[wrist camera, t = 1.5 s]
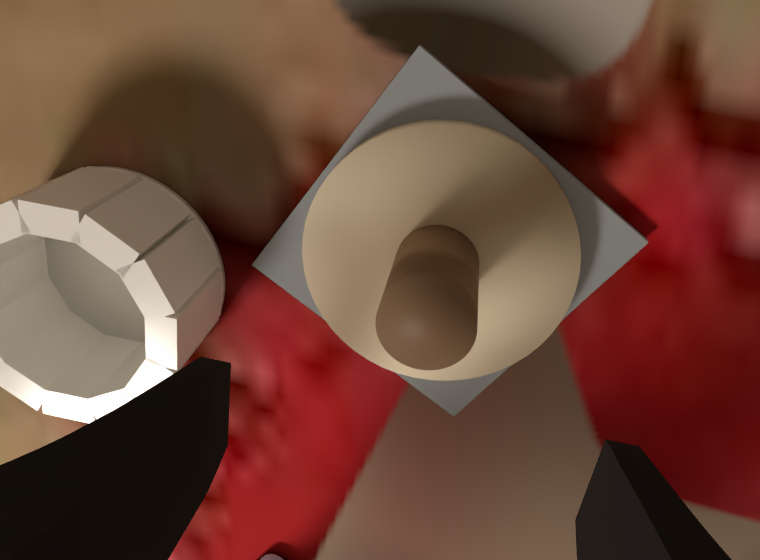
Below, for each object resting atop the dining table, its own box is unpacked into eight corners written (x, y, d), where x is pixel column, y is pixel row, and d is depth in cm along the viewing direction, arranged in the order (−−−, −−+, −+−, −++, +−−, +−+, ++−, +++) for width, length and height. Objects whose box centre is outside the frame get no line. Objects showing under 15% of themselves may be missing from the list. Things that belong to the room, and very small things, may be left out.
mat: (645, 237, 20) (648, 242, 19) (454, 409, 24) (453, 416, 23) (420, 44, 18) (419, 45, 18) (255, 260, 22) (251, 265, 22)
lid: (638, 243, 20) (681, 318, 15) (453, 410, 23) (445, 508, 19) (420, 56, 18) (399, 80, 14) (259, 264, 22) (203, 334, 18)
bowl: (265, 259, 22) (222, 314, 19) (163, 391, 25) (110, 459, 22) (79, 119, 21) (-5, 148, 17) (-3, 275, 24) (-89, 327, 21)
